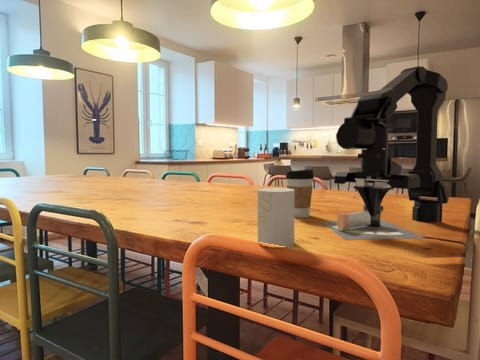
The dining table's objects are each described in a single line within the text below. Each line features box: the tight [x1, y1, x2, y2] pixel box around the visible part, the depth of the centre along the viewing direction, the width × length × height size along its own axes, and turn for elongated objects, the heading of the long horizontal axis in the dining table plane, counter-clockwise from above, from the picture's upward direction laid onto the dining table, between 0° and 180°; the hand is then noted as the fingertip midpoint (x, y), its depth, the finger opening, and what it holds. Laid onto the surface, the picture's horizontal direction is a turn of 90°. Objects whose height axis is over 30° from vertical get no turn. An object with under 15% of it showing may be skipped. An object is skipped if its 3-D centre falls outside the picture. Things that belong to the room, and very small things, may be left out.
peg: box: [337, 204, 384, 230], centre depth 87 cm, size 15×5×5 cm, turn 122°
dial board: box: [321, 220, 427, 241], centre depth 85 cm, size 18×20×1 cm
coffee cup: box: [285, 169, 315, 218], centre depth 104 cm, size 8×8×15 cm
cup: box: [256, 187, 295, 248], centre depth 76 cm, size 8×8×12 cm
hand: (373, 216), depth 80 cm, fingers closed
